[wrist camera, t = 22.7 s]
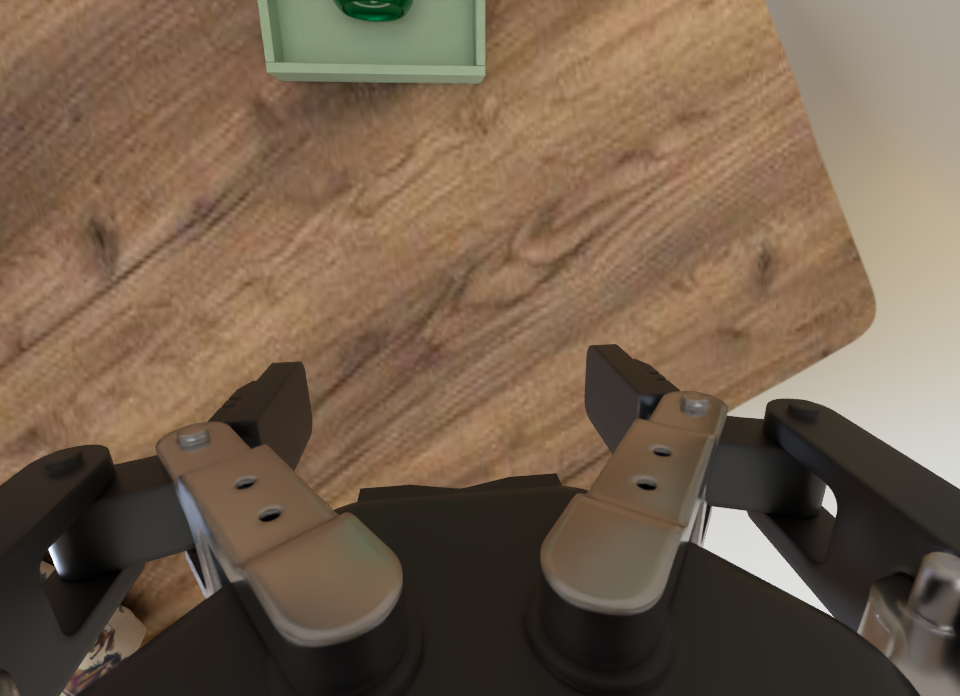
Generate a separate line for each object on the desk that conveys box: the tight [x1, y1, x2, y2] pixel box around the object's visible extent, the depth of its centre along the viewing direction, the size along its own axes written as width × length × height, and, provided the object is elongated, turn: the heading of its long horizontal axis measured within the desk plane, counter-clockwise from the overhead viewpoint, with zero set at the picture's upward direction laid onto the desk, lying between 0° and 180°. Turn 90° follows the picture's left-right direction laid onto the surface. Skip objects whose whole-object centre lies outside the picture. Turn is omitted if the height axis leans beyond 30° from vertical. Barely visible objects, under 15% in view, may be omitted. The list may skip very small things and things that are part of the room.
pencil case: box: [40, 561, 147, 696], centre depth 41 cm, size 22×8×10 cm, turn 42°
